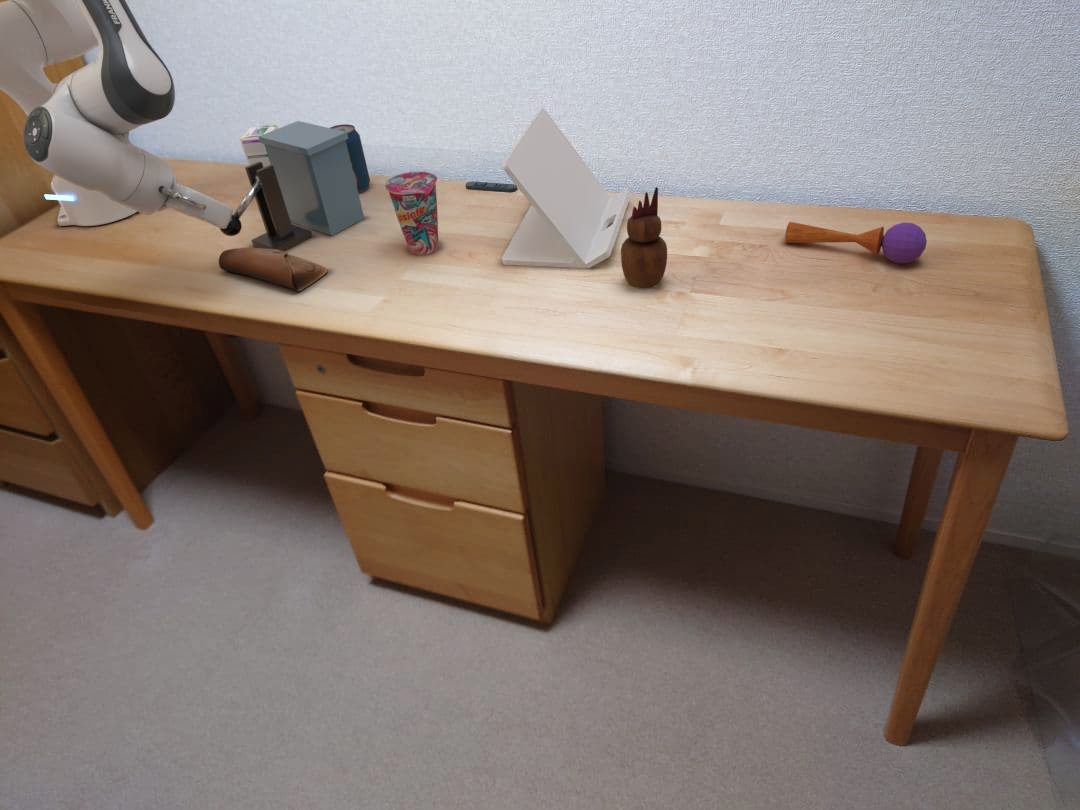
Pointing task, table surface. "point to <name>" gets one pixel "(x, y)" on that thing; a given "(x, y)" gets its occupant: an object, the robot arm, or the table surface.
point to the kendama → (867, 239)
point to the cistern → (314, 176)
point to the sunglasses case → (272, 266)
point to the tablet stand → (560, 202)
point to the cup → (416, 209)
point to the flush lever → (241, 210)
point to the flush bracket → (274, 212)
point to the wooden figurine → (644, 246)
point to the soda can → (356, 156)
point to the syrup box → (256, 145)
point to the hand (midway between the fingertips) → (222, 218)
